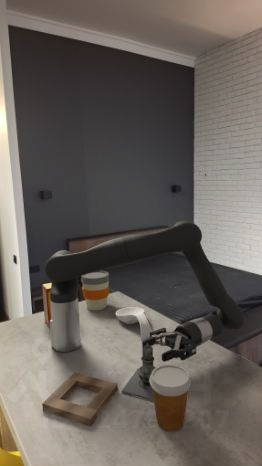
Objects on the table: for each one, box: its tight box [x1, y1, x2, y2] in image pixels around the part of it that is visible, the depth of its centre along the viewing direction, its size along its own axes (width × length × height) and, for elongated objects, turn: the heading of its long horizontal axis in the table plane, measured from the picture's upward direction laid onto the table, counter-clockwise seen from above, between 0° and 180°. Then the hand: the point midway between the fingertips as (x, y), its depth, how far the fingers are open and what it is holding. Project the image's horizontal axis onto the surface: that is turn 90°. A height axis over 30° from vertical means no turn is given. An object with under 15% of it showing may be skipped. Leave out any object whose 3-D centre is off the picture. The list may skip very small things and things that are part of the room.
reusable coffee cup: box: [80, 270, 110, 311], centre depth 144 cm, size 13×13×15 cm
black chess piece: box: [137, 343, 157, 389], centre depth 88 cm, size 6×6×12 cm
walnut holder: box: [42, 371, 119, 427], centre depth 84 cm, size 14×14×2 cm
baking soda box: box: [41, 282, 52, 328], centre depth 130 cm, size 10×6×16 cm
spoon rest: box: [115, 306, 153, 341], centre depth 124 cm, size 24×12×7 cm, turn 21°
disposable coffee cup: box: [149, 364, 192, 433], centre depth 75 cm, size 10×10×12 cm
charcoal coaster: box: [121, 368, 154, 402], centre depth 89 cm, size 11×11×1 cm
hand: (152, 351), depth 88 cm, fingers open, 8 cm apart
